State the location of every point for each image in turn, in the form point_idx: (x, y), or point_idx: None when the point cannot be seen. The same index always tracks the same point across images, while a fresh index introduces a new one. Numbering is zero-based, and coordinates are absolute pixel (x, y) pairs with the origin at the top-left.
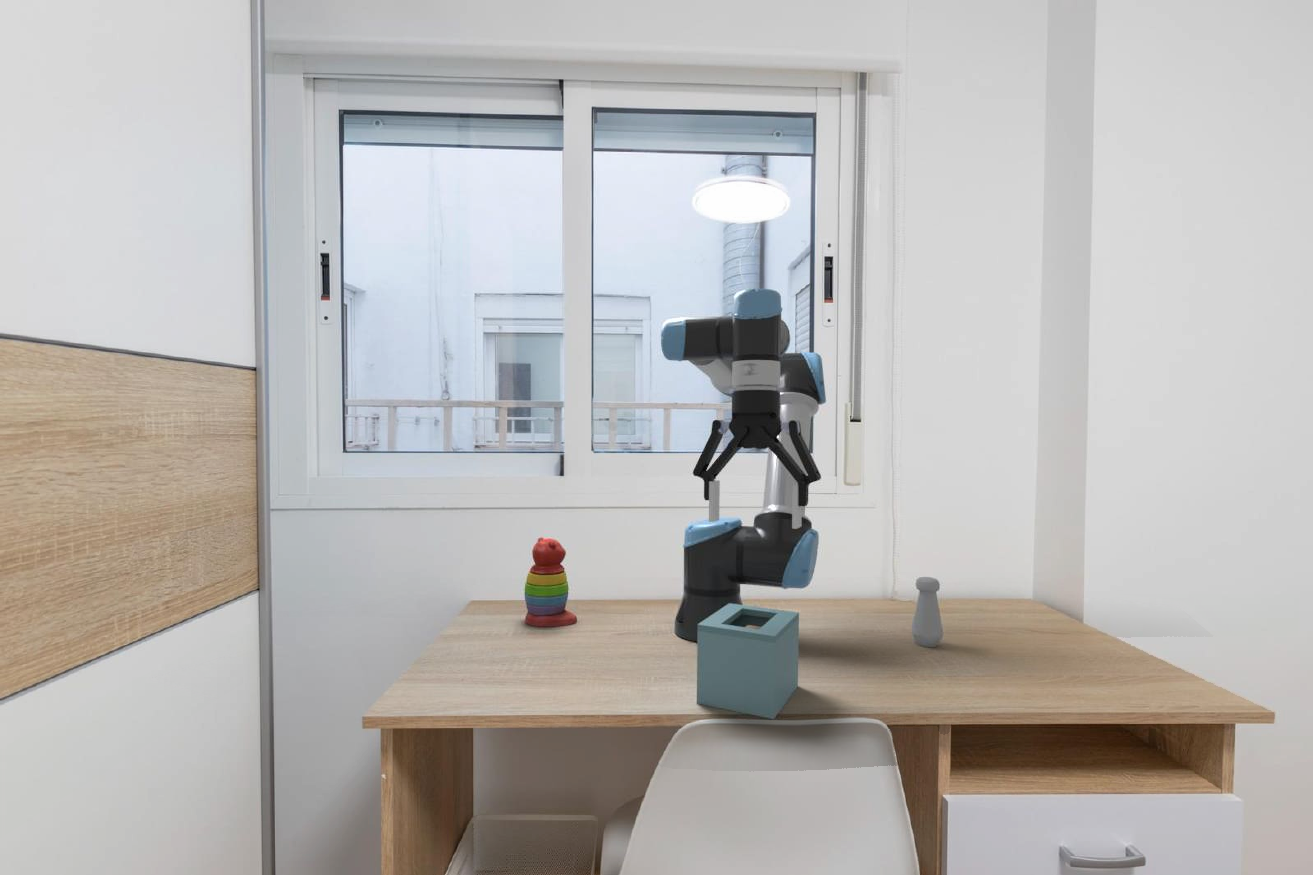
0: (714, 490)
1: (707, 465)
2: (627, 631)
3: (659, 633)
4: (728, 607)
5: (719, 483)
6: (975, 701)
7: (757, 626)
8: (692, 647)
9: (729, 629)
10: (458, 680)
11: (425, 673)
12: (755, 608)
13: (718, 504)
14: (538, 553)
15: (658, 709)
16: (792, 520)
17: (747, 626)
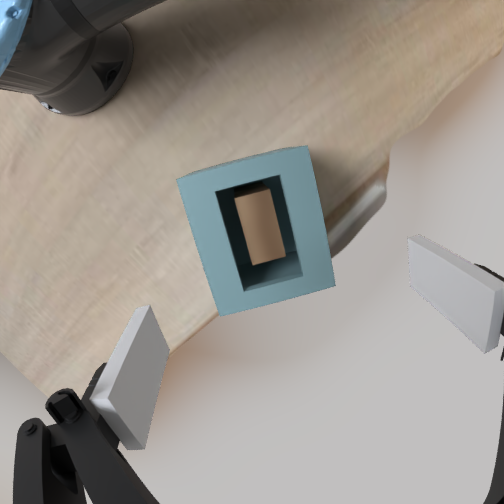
0: (147, 415)
1: (49, 464)
2: (12, 154)
3: (39, 125)
4: (192, 204)
5: (112, 389)
6: (436, 77)
7: (251, 194)
8: (99, 129)
9: (269, 303)
10: (47, 367)
11: (25, 371)
12: (233, 175)
13: (140, 342)
14: None
15: (204, 309)
16: (422, 296)
17: (239, 206)
